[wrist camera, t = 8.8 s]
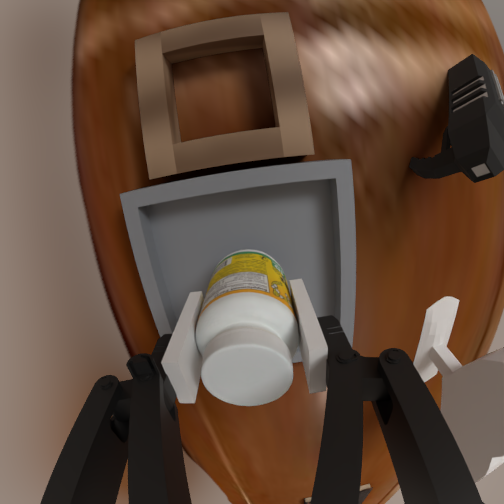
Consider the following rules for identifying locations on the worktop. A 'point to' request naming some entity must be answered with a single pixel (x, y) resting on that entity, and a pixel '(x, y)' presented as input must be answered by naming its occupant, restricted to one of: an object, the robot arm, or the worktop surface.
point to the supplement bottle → (247, 330)
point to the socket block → (233, 144)
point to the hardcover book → (362, 495)
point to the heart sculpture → (465, 391)
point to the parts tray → (248, 233)
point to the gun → (470, 126)
